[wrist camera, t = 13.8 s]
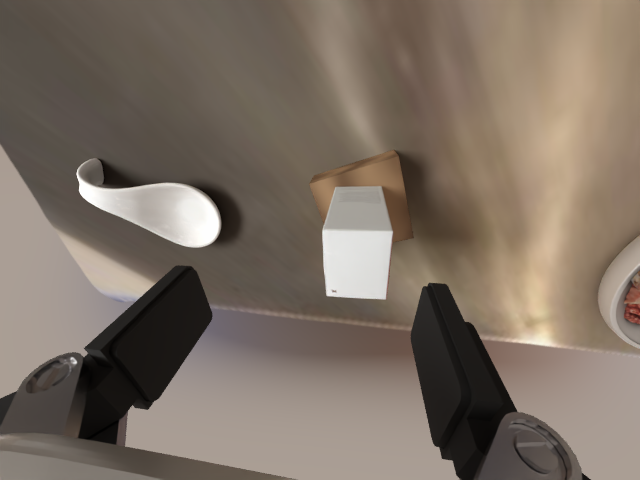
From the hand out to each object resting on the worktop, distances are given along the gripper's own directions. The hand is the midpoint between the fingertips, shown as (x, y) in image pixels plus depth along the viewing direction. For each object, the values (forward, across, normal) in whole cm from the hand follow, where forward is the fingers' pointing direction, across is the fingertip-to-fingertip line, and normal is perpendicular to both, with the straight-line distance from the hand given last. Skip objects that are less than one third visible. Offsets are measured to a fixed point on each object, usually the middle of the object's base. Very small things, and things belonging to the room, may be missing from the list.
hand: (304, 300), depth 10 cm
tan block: (+29, -3, +6) cm, 30 cm away
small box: (+24, -2, +7) cm, 25 cm away
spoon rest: (+29, +32, +7) cm, 43 cm away
